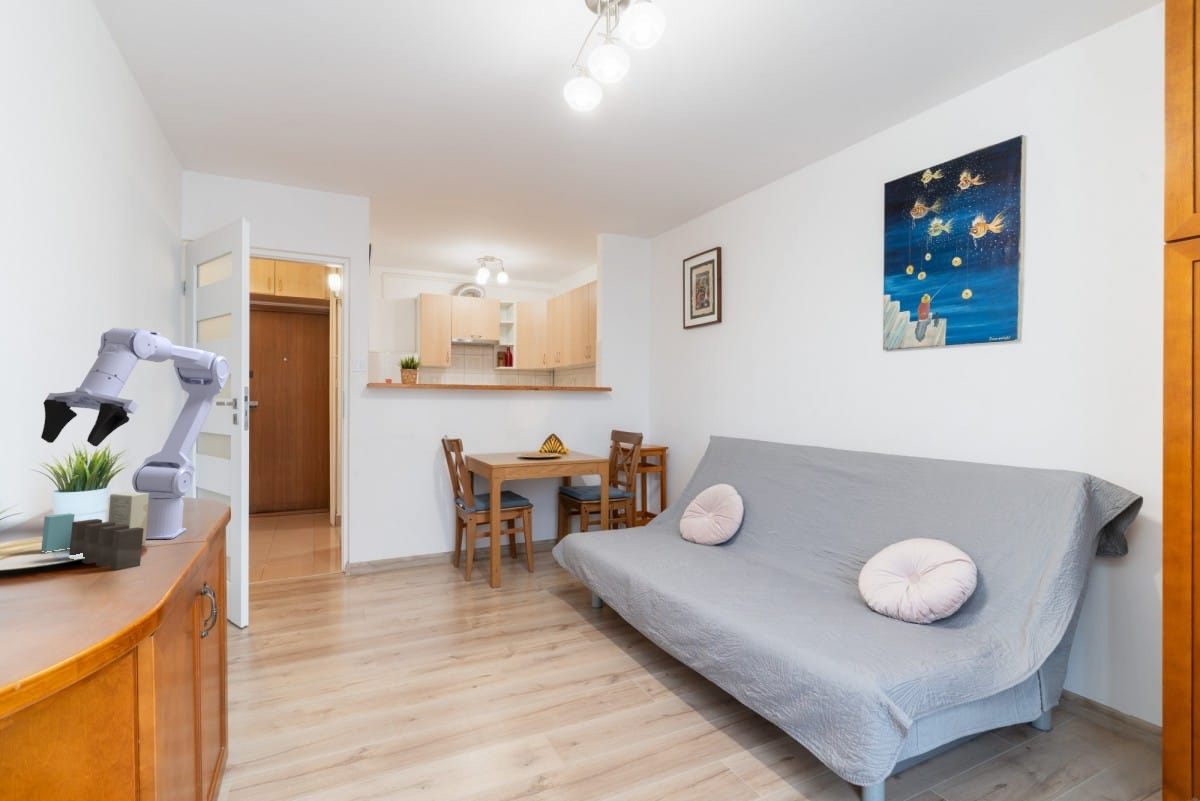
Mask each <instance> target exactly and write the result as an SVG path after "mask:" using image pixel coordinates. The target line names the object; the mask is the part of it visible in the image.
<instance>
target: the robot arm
mask: <svg viewBox="0 0 1200 801" xmlns="http://www.w3.org/2000/svg"><path fill="white" fill-rule="evenodd" d="M97 356H98V357H97V358H96V359H95V362H94V363H93V365H92V366H91V368H90V369H89V371H88V372H87V375H86V376H85V378H84V379H83V381H82V383H81V384H80V386H79V387H76V388H75V390H73V391H67V392H57V393H55V392H54V393H53V392H50V393H48V395H47V397H46V398H45V400H44V401H43V406H44V407H43V408H44V424H43V427H42V428H43V429H42V432H41V436H40V438H41V439H42V440H44V441H45V442H46V443H49V444H53V442H55V441H56V440H57V438H58V436H59V435H60V434H61V432H62V431H63V429H64V428H65V427H66V426H67V424H68V423H69V422H71V421H72V420H73V419H74V418H76V417H77V416H78V413H77V412H75V410H73V409H71V408H81V409H91V410H95V411H98V414H97V417H96V421H95V423H94V425H93V426H92V428H91V431H90V433H89V434H88V436H87V440H86V441H87V443H89V444H90V445H91V446H93V447H98V446H99V445H101V443H103V441H104V440H105V439H106V438H107V437H108V436H110V435H111V433H113V432H114V431H116V430H117V429H118V428H120V427H122V426H123V425H126V424H127V423H128V422H130V417H129V416H128V414H132V415H133V414H135V412H136V410H137V409H138V407H139V405H138V403H137V402H136V401H134V400H133V399H126V398H121V397H119V395H120V394H121V391H122V390H123V389H124V385H126V382H127V381H128V379H129V377H130V376H131V374H132V372H133V370H134V368H135V367H136V365H137V364H138V361H139V360H141V361H142V360H143V361H146V362H147V361H149V362H154V363H164V362H166V361H167V360H171V361H173V367H174V371H175V373H176V375H177V379H178V381H179V384H180V387H181V389H182V390H183V391H185V392H186V393H187V394H188V397H187V399H186V402H185V403H184V405H183V407H182V409H181V411H180V413H179V415H178V417H177V419H176V421H175V423H174V425H173V427H172V429H171V431H170V433H169V435H168V437H167V439H166V441H165V443H164V445H163V446H162V448H161V450H160V451H158V452H157V453H155V454H152V455H150V456H148V457H146V458H145V459H144V460H143V463H141V464H142V465H140V467H138V468H137V469H136V470H135V471H134V473H133V475H132V480H131V485H132V487H133V489H134V492H137V493H149V499H148V514H147V529H146V540H151V539H153V540H156V539H158V540H163V539H166V540H167V539H168V540H169V539H171V540H172V539H175V538H176V537H177V536H179V535H181V534H182V533H184V532H186V531H187V528H186V527H183V516H184V506H185V503H184V500H183V499H182V497H183V496H185V495H186V493H188V492H189V491H190V490H191V487H192V485H193V480H194V479H193V477H194V475H195V471H196V467H195V465H194V464H193V462H192V461H191V460H190V459H189V456H190V455H191V454H190V453H191V452H192V449H193V448H194V447H193V446H194V445H195V443H196V441H197V438H198V437H199V434H200V433H201V431H202V429H203V427H204V424H205V422H206V419H207V417H208V416H209V414H210V411H211V409H212V406H213V405H214V402H215V401H216V399H217V396H218V394H220V393H222V391H223V389H224V387H225V385H226V382H227V380H228V378H229V376H230V367H229V366H230V365H229V362H228V359H226V357H225V356H223V355H217V354H216V353H215V352H211V351H208V350H207V351H206V350H204V349H203V350H202V349H198V348H193V347H187V346H181V345H177V344H173V343H172V342H171V341H170V339H169V338H167V337H165V336H162V333H160V332H157V331H154V332H153V331H149V330H148V329H145V330H144V329H141V328H125V327H123V328H122V327H112V328H111V329H109V330H107V331H105V332H102V334H101V336H100V347H99V349H98V350H97Z"/></svg>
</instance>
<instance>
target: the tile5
mask: <svg viewBox="0 0 1200 801" xmlns="http://www.w3.org/2000/svg"><path fill="white" fill-rule="evenodd" d="M143 530H144V528H139V527H137V528H130V529H123V530H116V531H114V535H113V546H112V556H111V565H110V566H109V567H110V568H109V570H111V571H116V572H117V571H121V570H125V569H132V568H135V567H140V566H141V561H142V560H141V559H142V549H143V548H142V547H143V546H142V540H143Z"/></svg>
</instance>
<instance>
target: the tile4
mask: <svg viewBox="0 0 1200 801" xmlns="http://www.w3.org/2000/svg"><path fill="white" fill-rule="evenodd" d="M123 529H129V525H124V524H123V525H116V526H109V527H102V528H100V530H99V540H98V550H97V561H96V562H95V566H96V567H99V568H104V567H110V566H111V556H112V546H113V535H114V531H116V530H123Z"/></svg>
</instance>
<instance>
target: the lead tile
mask: <svg viewBox="0 0 1200 801" xmlns="http://www.w3.org/2000/svg"><path fill="white" fill-rule="evenodd" d="M72 522H75V514H74V513H69V512H68V513H60V514H52V515H45V516H44V520H43V530H42V540H41V549H40V550H41V551H44V552H47V551H54V550H59V549H67V548H70V542H71V532H72Z"/></svg>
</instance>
